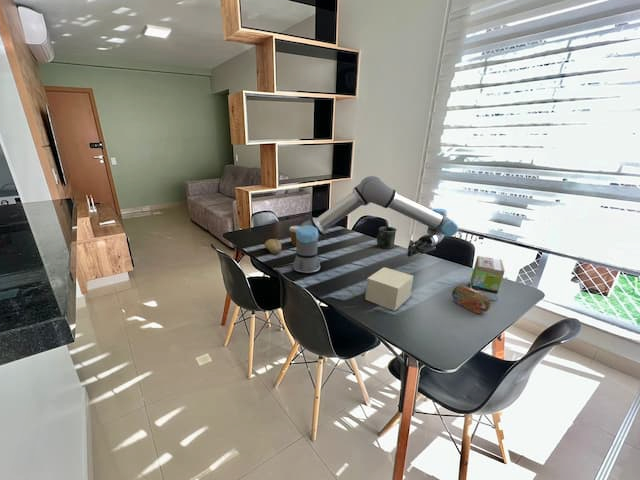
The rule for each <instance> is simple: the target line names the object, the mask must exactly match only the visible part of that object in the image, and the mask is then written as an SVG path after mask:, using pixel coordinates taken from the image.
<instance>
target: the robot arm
mask: <svg viewBox="0 0 640 480" xmlns="http://www.w3.org/2000/svg"><path fill="white" fill-rule="evenodd" d="M371 203H372V204H374V205H377V206H379V207H382V208H384V209H391V210H393V211H395V212H397V213H399V214H401V215H403V216H405V217H408V218H410V219H412V220H414V221H416V222H418V223H420V224H422V225H424V226H426V227H427V231H426V233H425V234H423V235H422V236H421V237H419V238H418V240H415V241H414V240H412V239H410V240H409V243H408V246H407V257H409V258H411V257H413V256H414V255H417V254H421V255H424V254H427V253H430V252H434V251H436V247H437V246H436V245H438V244H440V243H441V242H442V241H443V239H444V237H453V236H454V235H457V233H458V231H459V226H458V225H459V224H457V222H455V220H452V219H450V218H449V217H448V211H447V209H445V208H433V209H429V208H427V207H425V206H423V205H421V204H419V203H418V202H415V201H413V200H411V199H409V198H407V197H405V196H403V195H402V194H398V193H397V190H395V189H393V188H392V187H390V186H388V185H387V184H386V183H385V182H384V181H382V179H380V178H379V177H377V176H375V175H374V176H373V175H371V176H366V177H365V178H363V179H362V180H361V181H360V183H359V184H357V185H355V186H354V187H353V189H352V192H351V193H350V194H348V195H347V196H345V197H344V198H343V199H341V200H340V201H338V202H337V203H335V204H334V205H333V206H331V207H330V208H329V209H327V210H326V211H324V212H323V213H321V214H320V215H318V217H314V216H313V217H312V218H310V219H309V220H305V221H303V222H302V223H301V224H300V225H299V226H300V227H299V228H298V229H297V232H296V246H295V249H296V250H295V258H294V261H293V263H288V264H283V265H278V266H277V267H278V268H284V267H291V266H292V270H293V271H294V272H296V273H298V274H302V275H303V274H304V275H312V274H316V273H319V272H320V270H321V263H320V258H319V257H318V250H319V249H318V248H319V246H318V245H319V239H320V238H321V237H322V236H324V235H325V234H326V231H327V230H328V229H330V228H331V227H332V226H334V225H335V224H336V223H338V222H340V221H341V220H342V219H343V218H346V217H347V216H348V215H349V214H351V213H352V212H354V211H356V210H357V209H358V208H360V207H361V206H368V205H370V204H371Z"/></svg>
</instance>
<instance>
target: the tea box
mask: <svg viewBox="0 0 640 480" xmlns="http://www.w3.org/2000/svg"><path fill="white" fill-rule="evenodd" d="M504 275H505V267H504V263H503V260H502V259H499V258H493V257H488V256H480V255H477V256H476V259H475V263H474V266H473V271H472V273H471V278H470V282H469V288H471V289H474V290H476V291H478V292H481V293H483V294H485V295H486V296H487V297H488V298H489V300H490V301H496V299H497V296H498V293H499V290H500V288H501V284H502V281H503V278H504Z"/></svg>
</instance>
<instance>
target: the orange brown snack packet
mask: <svg viewBox="0 0 640 480" xmlns="http://www.w3.org/2000/svg"><path fill="white" fill-rule="evenodd" d="M451 294H452V295H451V296H452V299H453V301H454V302H455V303H456V304H457V305H459V306H461V307H463V308H465V309H467V310H469V311H471V312H473V313H475V314H483V313H487V312H488V311H489V310H490V309H491V305H492V302H491V300H490V299H489V298H488V297H487V296H486V295H485V294H483V293H481V292H478V291H476V290H474V289H471V288H470V286H468V285H458V286H455V287H454V288H453V289H452V293H451Z"/></svg>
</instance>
